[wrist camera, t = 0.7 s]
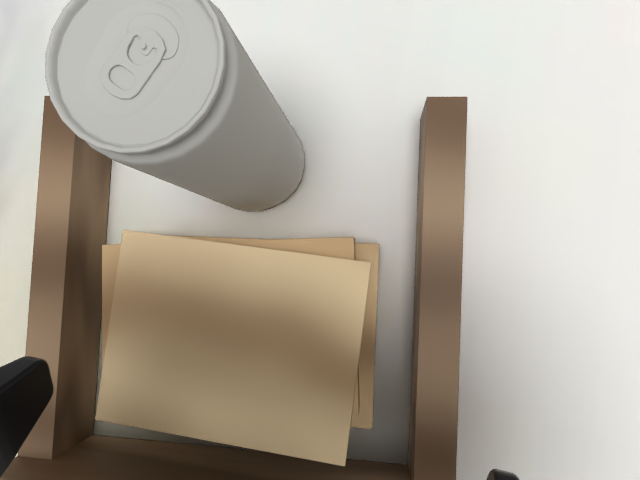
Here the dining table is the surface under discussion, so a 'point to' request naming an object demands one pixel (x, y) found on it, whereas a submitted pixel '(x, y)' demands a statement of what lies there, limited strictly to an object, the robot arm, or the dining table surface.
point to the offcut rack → (208, 461)
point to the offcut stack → (241, 340)
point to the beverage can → (173, 98)
